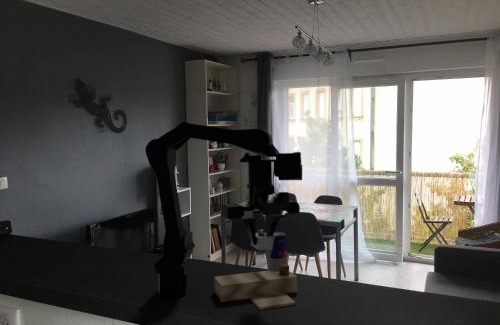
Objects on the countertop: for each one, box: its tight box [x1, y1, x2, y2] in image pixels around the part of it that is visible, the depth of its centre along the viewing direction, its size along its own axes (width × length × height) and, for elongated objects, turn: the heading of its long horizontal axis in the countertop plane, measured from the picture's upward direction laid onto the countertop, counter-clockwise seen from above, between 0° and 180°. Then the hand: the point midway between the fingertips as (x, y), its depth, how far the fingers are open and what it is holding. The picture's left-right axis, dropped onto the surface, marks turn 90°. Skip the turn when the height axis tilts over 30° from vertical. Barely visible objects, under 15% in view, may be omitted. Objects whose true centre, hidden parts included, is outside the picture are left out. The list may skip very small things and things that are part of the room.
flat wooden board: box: [250, 293, 296, 311], centre depth 99 cm, size 9×6×1 cm, turn 109°
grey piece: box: [250, 229, 273, 251], centre depth 101 cm, size 4×6×4 cm, turn 20°
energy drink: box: [267, 231, 287, 271], centre depth 119 cm, size 5×5×12 cm
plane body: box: [214, 263, 298, 303], centre depth 105 cm, size 20×7×6 cm, turn 109°
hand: (261, 243), depth 101 cm, fingers closed on grey piece, 3 cm apart
